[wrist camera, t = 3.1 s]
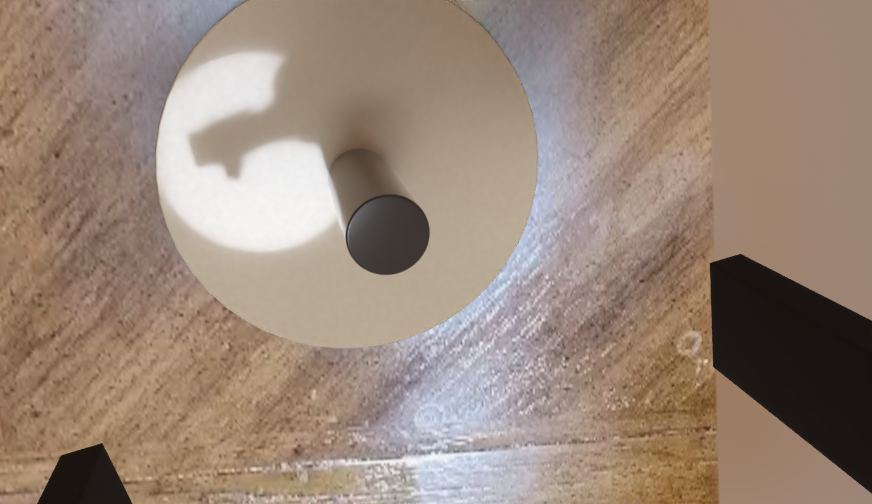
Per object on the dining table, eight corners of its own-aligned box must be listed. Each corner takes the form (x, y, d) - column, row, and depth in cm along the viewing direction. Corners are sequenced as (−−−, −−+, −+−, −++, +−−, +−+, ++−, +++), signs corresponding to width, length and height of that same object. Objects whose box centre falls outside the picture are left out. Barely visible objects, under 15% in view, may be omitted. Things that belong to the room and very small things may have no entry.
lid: (501, -62, 27) (601, -97, 19) (549, 286, 34) (639, 375, 25) (95, 20, 25) (3, 21, 16) (230, 378, 31) (213, 511, 23)
